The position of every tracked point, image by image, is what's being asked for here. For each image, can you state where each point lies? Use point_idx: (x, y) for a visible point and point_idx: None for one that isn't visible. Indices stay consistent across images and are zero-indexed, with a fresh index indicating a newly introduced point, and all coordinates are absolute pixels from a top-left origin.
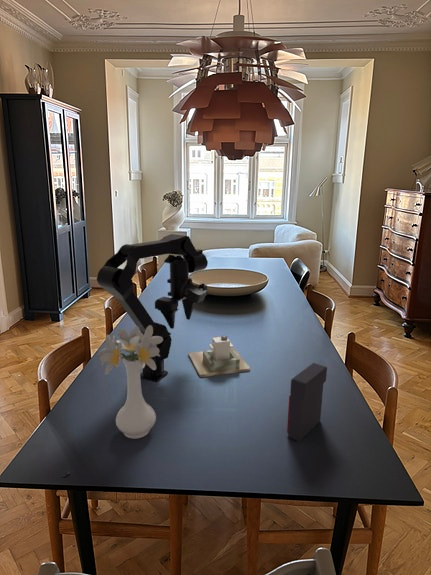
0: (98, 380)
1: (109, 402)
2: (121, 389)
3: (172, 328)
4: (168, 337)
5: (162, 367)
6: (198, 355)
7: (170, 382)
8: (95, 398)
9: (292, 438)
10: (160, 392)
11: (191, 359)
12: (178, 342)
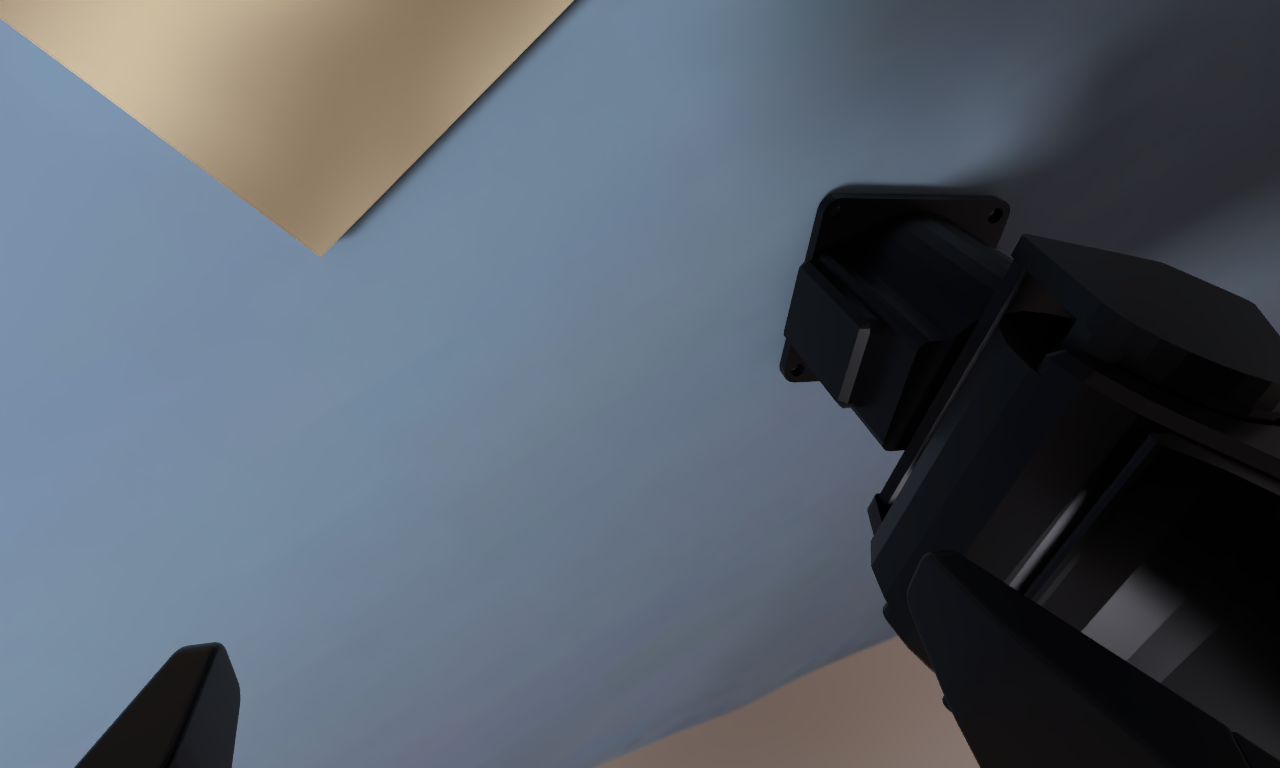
0: None
1: (1270, 299)
2: None
3: (947, 560)
4: (1188, 407)
5: (921, 248)
6: (288, 96)
7: (986, 63)
8: None
9: None
10: (1169, 45)
11: (446, 127)
12: (110, 519)
